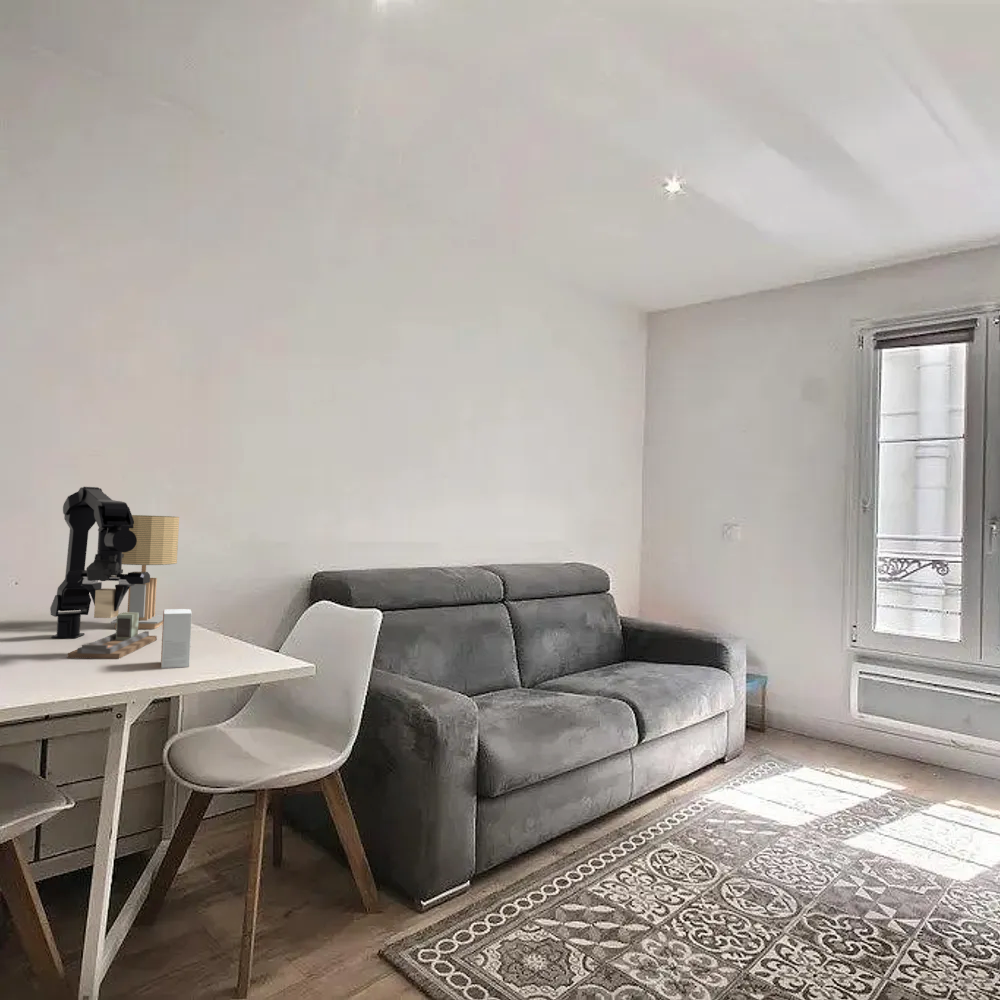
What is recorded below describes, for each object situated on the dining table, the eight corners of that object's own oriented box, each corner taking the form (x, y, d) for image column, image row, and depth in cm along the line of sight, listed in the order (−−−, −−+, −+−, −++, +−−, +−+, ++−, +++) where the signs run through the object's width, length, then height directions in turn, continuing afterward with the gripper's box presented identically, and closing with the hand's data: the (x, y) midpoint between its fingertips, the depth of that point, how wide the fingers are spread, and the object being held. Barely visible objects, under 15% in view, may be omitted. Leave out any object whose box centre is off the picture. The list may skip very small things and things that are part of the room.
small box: (160, 661, 179) (163, 609, 179) (188, 660, 182) (191, 608, 182) (160, 668, 172) (163, 613, 172) (189, 667, 174) (192, 612, 175)
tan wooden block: (102, 615, 189) (104, 588, 190) (118, 615, 190) (120, 588, 190) (93, 617, 184) (95, 590, 184) (110, 618, 185) (112, 590, 185)
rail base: (112, 639, 207) (113, 610, 207) (156, 639, 208) (157, 611, 209) (67, 658, 179) (69, 624, 179) (119, 658, 181) (120, 625, 181)
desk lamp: (166, 630, 225) (172, 517, 226) (97, 630, 221) (103, 514, 222) (180, 621, 244) (185, 516, 245) (116, 621, 240) (122, 514, 241)
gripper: (56, 550, 178) (53, 614, 178) (136, 552, 181) (133, 615, 180) (76, 548, 189) (73, 608, 189) (152, 550, 192) (149, 610, 191)
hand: (106, 610), depth 187 cm, fingers closed on tan wooden block, 4 cm apart
